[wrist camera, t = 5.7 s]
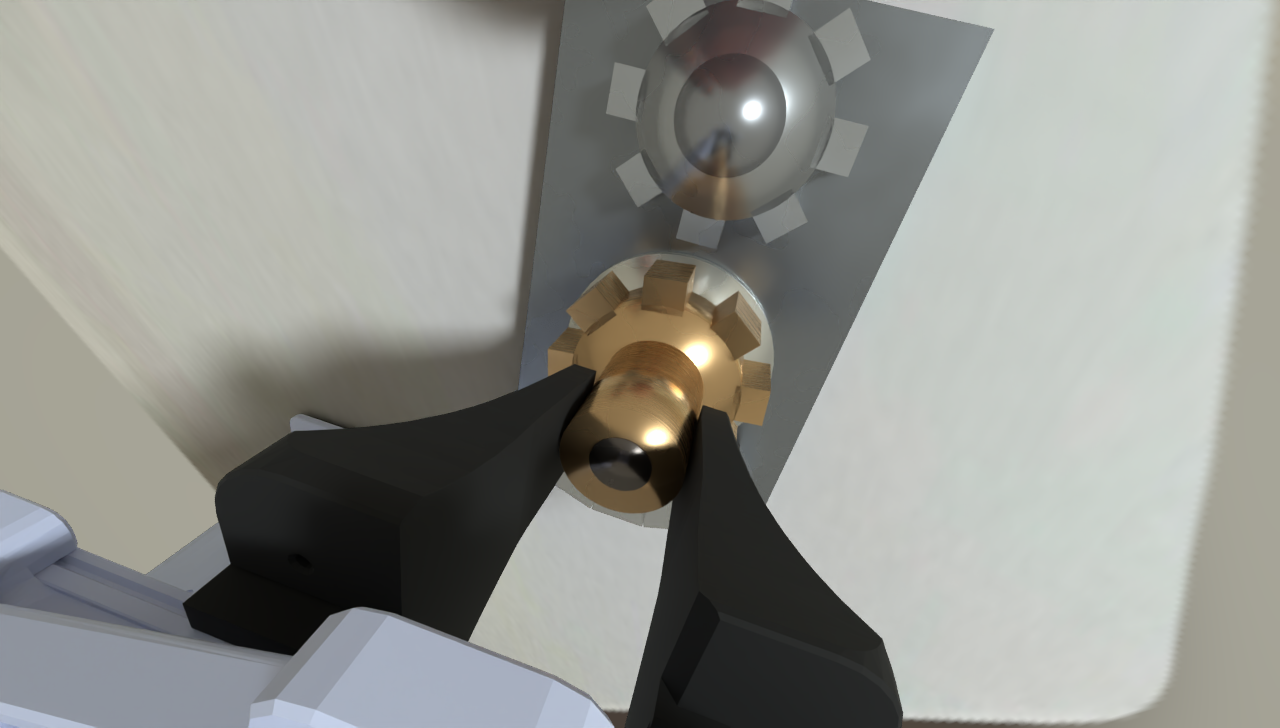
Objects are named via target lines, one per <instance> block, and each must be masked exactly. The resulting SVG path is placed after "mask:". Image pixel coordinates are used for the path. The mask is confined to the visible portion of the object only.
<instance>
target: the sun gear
mask: <svg viewBox="0 0 1280 728" xmlns="http://www.w3.org/2000/svg"><path fill="white" fill-rule="evenodd" d="M792 2H793V0H727V1H722V2H719V3H716V4H713V5H710V6H707V7H706V6H705V3H704V1H703V0H653V1H652V2H650V3H649V4H648V5H647V6H646V7H647V9H648V11H649V13H650V15H651V17H652V19H653V21H654V23H655V25H656V27H657V29H658V31H659V33H660V35H661V37H662V39H663V42H662V43H661V44H660V46H659V47H658V49H657V50H656V52H655V53H654V55H653V57H652V59H651V60H650V62H649V64H648V66H647V68H646V70H644V69H640V68H636V67H632V66H628V65H624V64H620V63H616V62H615V64H614V70H613V76H612V81H611V87H610V93H609V99H608V105H607V111H606V114H610V115H613V116H617V117H621V118H625V119H629V120H632V121H636V132H637V140H638V145H639V149H640V152H639V153H638V154H636V155H635V156H634V157H632V158H631V159H629V160H628V161H626V162H625V163H623V164H622V165H621V166H619V167H618V168H616V171H617V173H618V174H619V176H620V178H621V180H622V181H623V183H624V185H625V186H626V188H627V190H628V192H629V193H630V195H631V197H632V199H633V200H634V202H635V204H636V206H637V207H639V206H641V205H643V204H644V203H646V202H647V201H649V200H650V199H652V198H654V197H655V196H657V195H658V194H660V193H661V192H663V193H664V194H665V195H666V196H667V197H668V198H669V199H670V200H671V201H673V202H674V203H675V204H677V205H678V206H680V207H681V208H683V213H682V217H681V221H680V225H679V228H678V232H677V236H676V238H677V239H681V240H684V241H688V242H691V243H695V244H698V245H702V246H705V247H709V248H712V249H716V248H717V246H718V243H719V240H720V238H721V234H722V231H723V228H724V225H725V221H728V220H740V219H745V218H750V217H753V219H754V221H755V223H756V224H757V226H758V228H759V230H760V232H761V234H762V236H763V238H764V240H765V242H766V244H767V243H769V242H771V241H772V240H774V239H776V238H778V237H780V236H782V235H784V234H786V233H788V232H789V231H791V230H793V229H795V228H797V227H799V226H801V225H803V224H805V223H806V222H808V221H807V219H806V217H805V215H804V213H803V210H802V208H801V206H800V204H799V202H798V200H797V198H796V196H795V194H794V193H796V192H797V191H798V190H799V189H800V187H801V186H802V185H803V184H804V183H805V182H806V181H807V180H808V178H809V177H810V176H811V174H812V173H813V172H814V170H815V169H819V170H822V171H826V172H830V173H834V174H838V175H841V176H845V177H848V176H849V173H850V171H851V169H852V166H853V164H854V161H855V159H856V156H857V154H858V151H859V149H860V147H861V144H862V142H863V139H864V137H865V134H866V132H867V129H868V127H869V126H867V125H863V124H859V123H855V122H851V121H847V120H843V119H839V118H835V111H836V88H835V82H837V81H838V80H840V79H841V78H843V77H844V76H846V75H848V74H849V73H851V72H852V71H854V70H855V69H857V68H859V67H860V66H862V65H863V64H865V63H866V62H868V61H870V60H871V59H870V57H869V54H868V52H867V49H866V47H865V44H864V41H863V39H862V36H861V34H860V31H859V29H858V26H857V24H856V21H855V19H854V16H853V14H852V11H851V9H850V8H848V9H847V10H846V11H844V12H843V13H841V14H840V15H838V16H837V17H835V18H834V19H832V20H831V21H830V22H828V23H827V24H825V25H824V26H822V27H821V28H819V29H818V30H816V31H815V32H813V31H812V30H811V28H810V27H809V26H808V25H807V24H806V23H805V22H804V21H803V20H802V19H800V18H799V17H797V16H796V15H795V14H793V13H792V12H791V11H790V9H791V6H792Z"/></svg>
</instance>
